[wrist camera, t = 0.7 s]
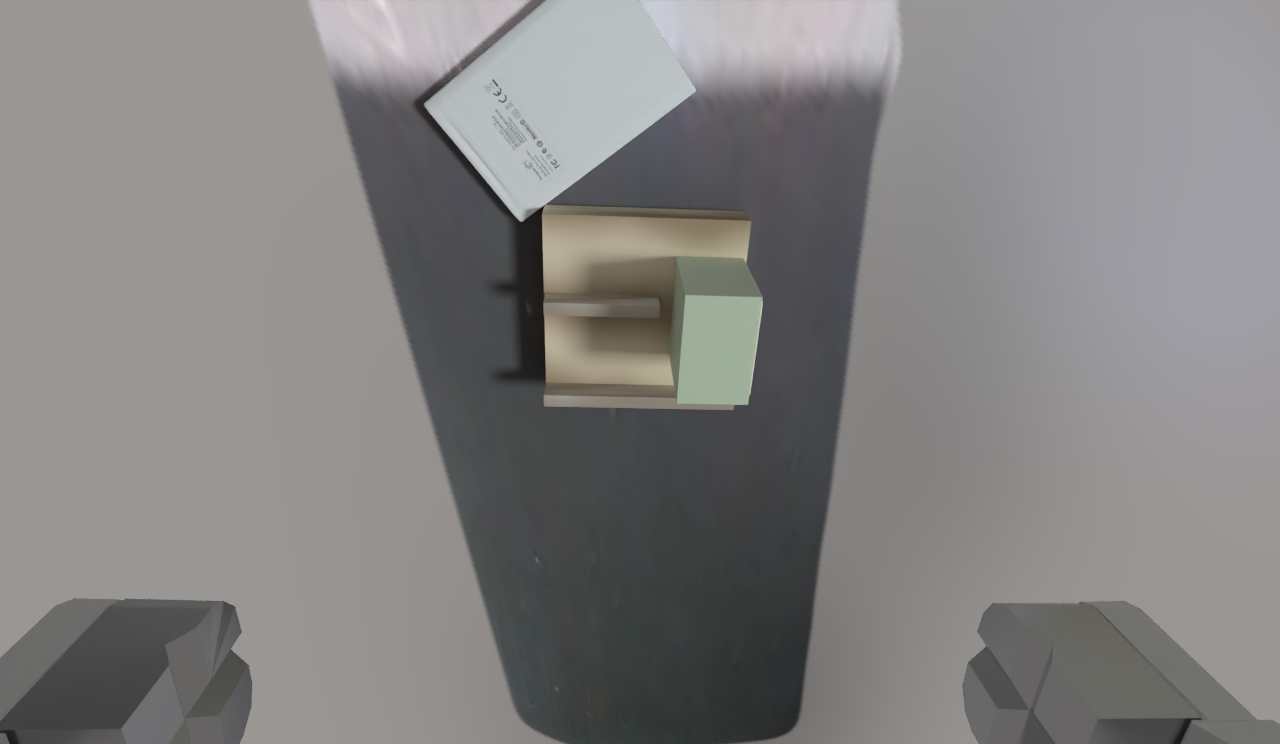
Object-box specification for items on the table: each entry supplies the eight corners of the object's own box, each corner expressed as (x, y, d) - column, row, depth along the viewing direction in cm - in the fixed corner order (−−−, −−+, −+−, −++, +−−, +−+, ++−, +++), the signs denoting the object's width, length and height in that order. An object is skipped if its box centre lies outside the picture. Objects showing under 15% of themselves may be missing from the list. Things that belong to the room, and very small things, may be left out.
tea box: (669, 354, 44) (676, 403, 39) (676, 256, 41) (685, 295, 36) (733, 355, 44) (750, 404, 39) (745, 258, 41) (765, 297, 36)
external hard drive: (694, 87, 39) (523, 216, 42) (606, -52, 36) (428, 100, 39) (697, 91, 38) (520, 224, 41) (606, -53, 34) (420, 104, 37)
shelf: (545, 204, 41) (539, 222, 38) (745, 211, 42) (756, 229, 39) (548, 379, 47) (544, 407, 44) (725, 383, 48) (733, 411, 44)
